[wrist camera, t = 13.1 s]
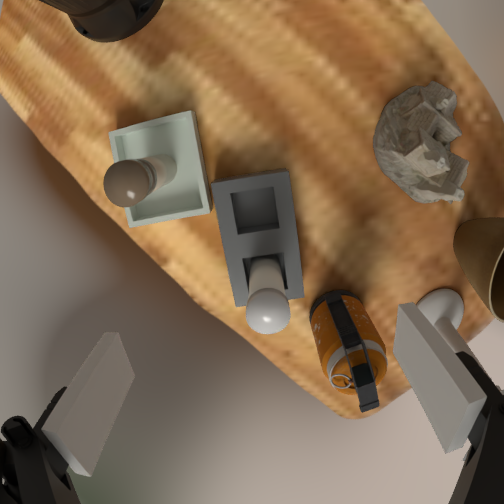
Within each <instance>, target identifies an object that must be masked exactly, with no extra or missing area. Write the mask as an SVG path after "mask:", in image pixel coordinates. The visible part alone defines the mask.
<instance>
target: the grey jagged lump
mask: <svg viewBox="0 0 504 504" xmlns="http://www.w3.org/2000/svg"><path fill="white" fill-rule="evenodd" d="M456 97H457V96H456V94H455V92H454V91H452V90H451V89H447V88H446V87H444V86H443V85H441V84H439V83H437V82H435V81H431V82H430V83H429V85H428V86H426V87H423V86H413V87H411V88H408V90H406V91H404V92H403V93H401V94H400V95H399V96H397V97H395V98H394V99H392V100H391V101H390V102H389V103H388V104H387V105H386V106H385V107H384V110H383V112H382V113H381V117H380V120H379V121H378V124H377V126H376V130H375V135H374V137H373V148H374V152H375V156H376V159H377V162H378V164H379V167H380V168H381V170H382V171H383V173H384V174H385V175H386V176H388V177H389V178H390V179H391V180H392V181H394V182H395V183H396V184H397V185H398V186H399V187H400V188H401V189H402V190H403V191H404V192H406V193H407V194H408V195H409V196H410V197H411V198H412V199H413V200H414V201H416V202H420V203H432V202H436V201H439V200H440V199H443V200H445V201H448V202H449V203H450V204H451V203H452V202H453V200H454V201H462V199H463V197H464V190H462V189H461V188H460V187H461V185H462V183H463V181H464V180H465V178H466V176H467V167H468V165H469V161H467V160H465V159H462V158H461V157H459V156H457V155H455V154H453V153H451V152H450V142H451V141H453V140H454V139H456V137H457V136H461V135H462V132H461V130H460V129H459V127H458V126H457V123H456V121H455V119H454V118H453V111H454V110H455V108H456V105H457V101H456Z"/></svg>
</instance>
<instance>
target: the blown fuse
mask: <svg viewBox="0 0 504 504" xmlns="http://www.w3.org/2000/svg"><path fill="white" fill-rule="evenodd" d="M176 174H177V165H176V162H175V160H174V159H173V158H172V157H171V156H169V155H166V154H158V155H154V156H149V157H144V158H140V159H127V160H122V161H118V162H116V163H114V164H113V165H111V166H110V167H109V169H108V170H107V172H106V174H105V177H104V190H105V193H106V196H107V197H108V199H109V200H110V201H111V202H112V203H113V204H115V205H117V206H119V207H131V206H134V205H136V204H137V203H139V202H140V201H142V200H144V199H145V198H146V197H147V196H148V195H149V194H151V193H152V192H154V191H156V190H157V189H159V188H161V187H163V186H165V185H166V184H168V183H170V182H171V181H172V180H173V179H174V178H175V176H176Z"/></svg>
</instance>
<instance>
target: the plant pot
mask: <svg viewBox="0 0 504 504" xmlns="http://www.w3.org/2000/svg"><path fill="white" fill-rule="evenodd" d="M453 247H454V252H455V255H456V257H457V259H458V261H459V263H460V265H461V267H462V269H463V271H464V273H465V275H466V277H467V278H468V280H469V282H470V283H471V285H472V286H473V288H474V289H475V291H476V292H477V294H478V295H479V297H480V298H481V300H482V301H483V302H484V304H485V305H486V306H487V308H488V309H489V310H490V312H491V313H492V314H493V315H494V317H495V318H496V319H497V320H499V321H501V322H504V218H481V219H475V220H469V221H466V222H465V223H463V224H462V225H461V226H460V227H459V229H458V230H457V232H456V234H455V237H454V242H453Z"/></svg>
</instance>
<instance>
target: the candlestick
mask: <svg viewBox="0 0 504 504" xmlns="http://www.w3.org/2000/svg"><path fill="white" fill-rule="evenodd" d="M416 306H417V307H418V309H419V310H420V311H421V312H422V313H423V315H424V316H425V317H426V318H427V319H428V321H429V322H430V323H431V324H432V325H433V327H434V328H435V329H436V330H437V331H438V333H439V334H440V335H441V336H442V338H443V339H444V340H445V341H446V343H447V344H448V345H449V346H450V348H451V349H452V350H453V352H454V353H458V352H461V351H464V352H466V353H467V354H469V355H471V356H472V357H473V358H474V359H475V360H476V361H477V363H478V364H479V366H481V368H482V369H483V370H484V368H483V367H482V365H481V364H480V363H479V361H478V359H477V358H476V357H475V355H474V354H473V352H472V351H471V349H470V348H469V347H468V345H467V344H466V342H465V341H464V340H463V338H462V337H461V336H460V334H459V333H458V331H457V328H458V326H459V325H460V323H461V320H462V317H463V312H464V305H463V301H462V299H461V297H460V296H459V294H458V293H456V292H455V291H453V290H451V289H438V290H435V291H433V292H431V293H429V294H427V295H426V296H424V297H423V298H422V299H421V300H420V301H419V302H418V303H417V304H416ZM484 373H486V371H485V370H484ZM486 374H487V373H486ZM487 375H488V374H487ZM488 377H489V376H488ZM489 378H490V377H489ZM490 379H491V378H490ZM496 387H497V388H498V390H499V391H500V392H501V394H502V395H504V390H501V389H500V387H499V386H496Z"/></svg>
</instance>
